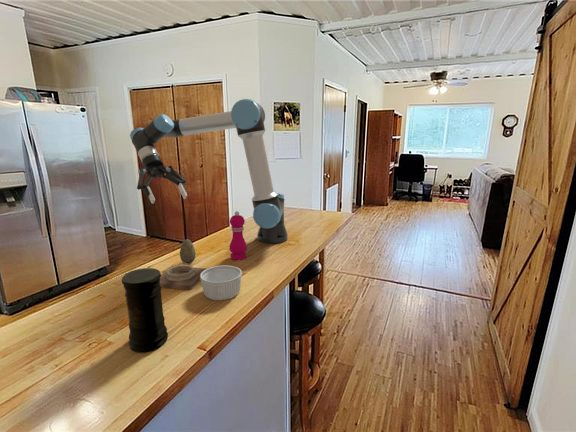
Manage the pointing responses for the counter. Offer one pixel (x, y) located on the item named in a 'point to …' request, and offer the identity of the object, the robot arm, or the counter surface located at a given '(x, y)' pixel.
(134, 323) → the container
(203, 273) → the ramekin
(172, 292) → the counter surface
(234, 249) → the pepper mill
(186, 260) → the decorative egg
